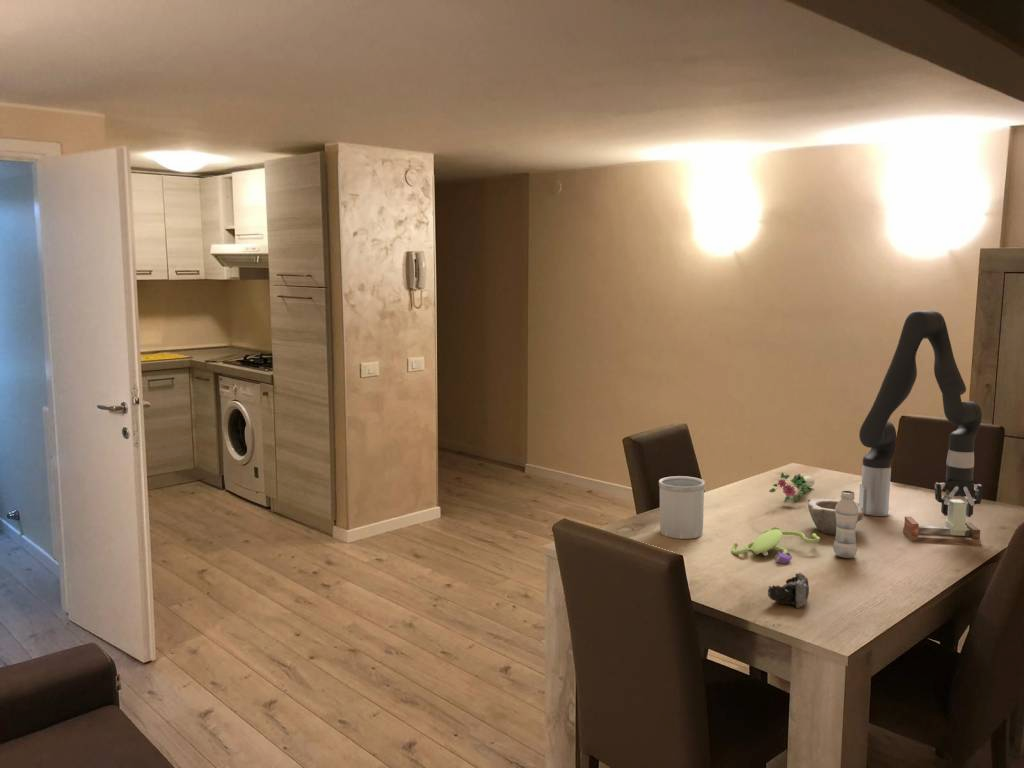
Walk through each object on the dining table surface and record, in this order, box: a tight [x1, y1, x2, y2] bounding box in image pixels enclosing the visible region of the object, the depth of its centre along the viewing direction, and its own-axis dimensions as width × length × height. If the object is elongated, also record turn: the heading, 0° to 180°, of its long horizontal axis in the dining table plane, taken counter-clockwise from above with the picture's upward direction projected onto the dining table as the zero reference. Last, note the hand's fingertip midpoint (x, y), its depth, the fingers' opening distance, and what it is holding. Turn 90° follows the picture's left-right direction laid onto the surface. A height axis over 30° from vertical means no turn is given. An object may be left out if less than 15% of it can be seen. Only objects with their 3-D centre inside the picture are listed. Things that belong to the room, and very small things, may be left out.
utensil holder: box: [658, 475, 706, 540], centre depth 264 cm, size 15×15×18 cm
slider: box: [945, 498, 968, 536], centre depth 257 cm, size 4×7×10 cm, turn 169°
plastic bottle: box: [833, 490, 859, 559], centre depth 240 cm, size 6×7×20 cm
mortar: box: [807, 497, 865, 536], centre depth 266 cm, size 17×17×9 cm
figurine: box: [731, 526, 821, 564], centre depth 247 cm, size 18×27×6 cm
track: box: [902, 516, 982, 546], centre depth 258 cm, size 20×10×6 cm, turn 79°
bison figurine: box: [767, 571, 810, 609], centre depth 209 cm, size 12×7×10 cm
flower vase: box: [768, 471, 815, 502], centre depth 307 cm, size 12×12×35 cm
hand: (956, 515), depth 257 cm, fingers open, 6 cm apart
